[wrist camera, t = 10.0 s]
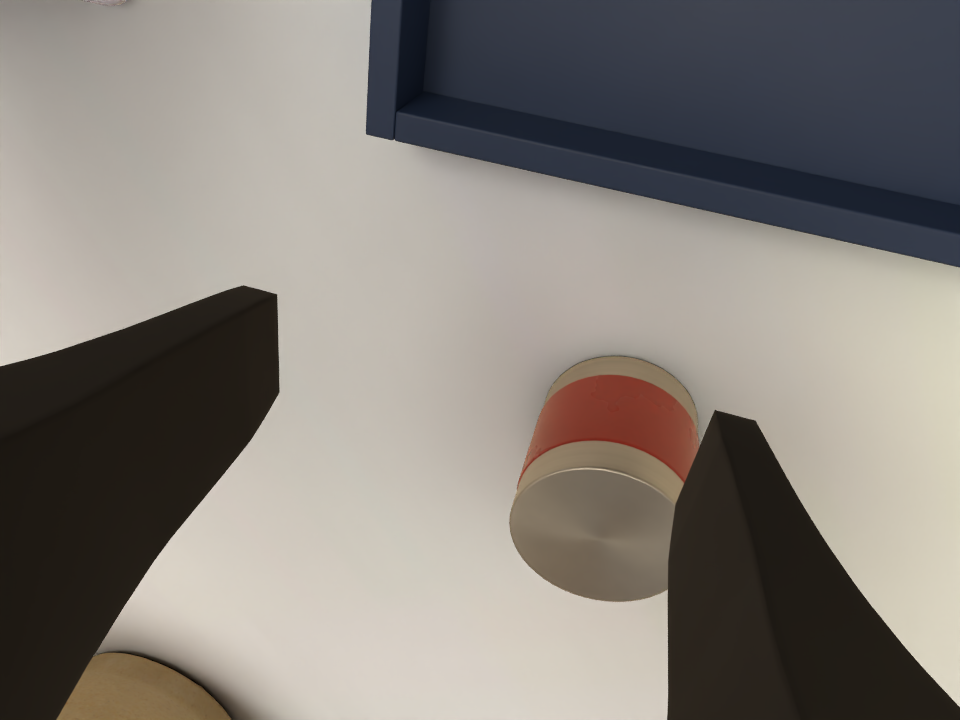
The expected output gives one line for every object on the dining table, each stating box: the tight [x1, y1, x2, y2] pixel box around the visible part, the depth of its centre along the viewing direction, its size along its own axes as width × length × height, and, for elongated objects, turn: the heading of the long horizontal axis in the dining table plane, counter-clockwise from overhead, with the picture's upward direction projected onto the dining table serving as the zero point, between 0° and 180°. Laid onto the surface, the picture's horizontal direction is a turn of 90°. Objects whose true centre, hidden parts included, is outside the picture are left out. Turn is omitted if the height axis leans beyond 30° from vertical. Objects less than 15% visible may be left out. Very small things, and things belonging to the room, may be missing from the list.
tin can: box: [509, 356, 699, 602], centre depth 20 cm, size 5×5×5 cm
